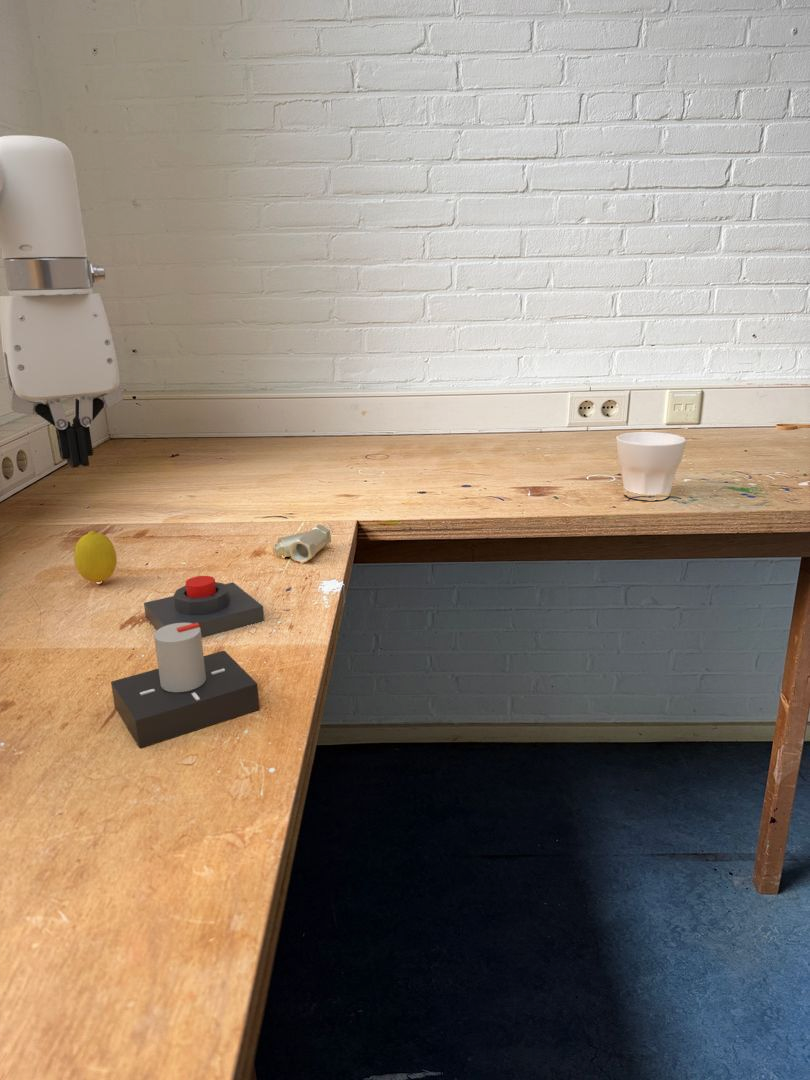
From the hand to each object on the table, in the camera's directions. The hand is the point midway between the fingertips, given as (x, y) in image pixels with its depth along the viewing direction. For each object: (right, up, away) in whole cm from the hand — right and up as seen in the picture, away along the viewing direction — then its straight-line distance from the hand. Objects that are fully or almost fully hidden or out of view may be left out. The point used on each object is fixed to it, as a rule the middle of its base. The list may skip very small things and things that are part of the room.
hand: (78, 464), depth 83 cm
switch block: (+9, -18, +18) cm, 27 cm away
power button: (+9, -15, +17) cm, 24 cm away
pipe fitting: (+18, -10, +41) cm, 46 cm away
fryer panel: (+12, -25, -3) cm, 28 cm away
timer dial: (+12, -22, -4) cm, 25 cm away
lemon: (-9, -14, +31) cm, 35 cm away
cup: (+80, 0, +68) cm, 105 cm away
